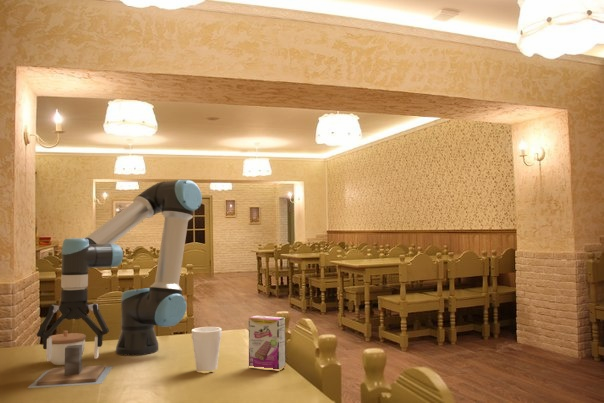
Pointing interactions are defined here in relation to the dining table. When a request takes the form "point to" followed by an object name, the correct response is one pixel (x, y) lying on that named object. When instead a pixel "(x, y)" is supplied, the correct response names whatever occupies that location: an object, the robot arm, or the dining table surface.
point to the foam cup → (206, 347)
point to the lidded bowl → (64, 345)
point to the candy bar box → (267, 342)
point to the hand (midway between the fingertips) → (72, 358)
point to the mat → (99, 381)
